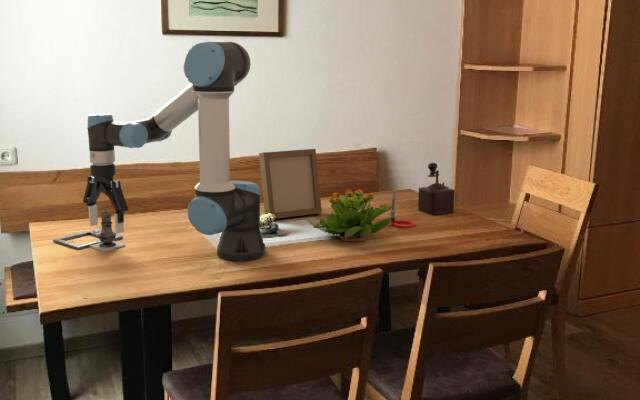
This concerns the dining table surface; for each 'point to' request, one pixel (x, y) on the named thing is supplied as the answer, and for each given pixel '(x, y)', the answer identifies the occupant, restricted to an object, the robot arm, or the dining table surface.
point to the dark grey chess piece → (106, 231)
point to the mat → (118, 245)
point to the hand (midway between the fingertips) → (106, 228)
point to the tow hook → (394, 221)
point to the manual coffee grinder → (436, 196)
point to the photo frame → (290, 183)
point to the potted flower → (353, 217)
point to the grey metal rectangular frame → (92, 232)
